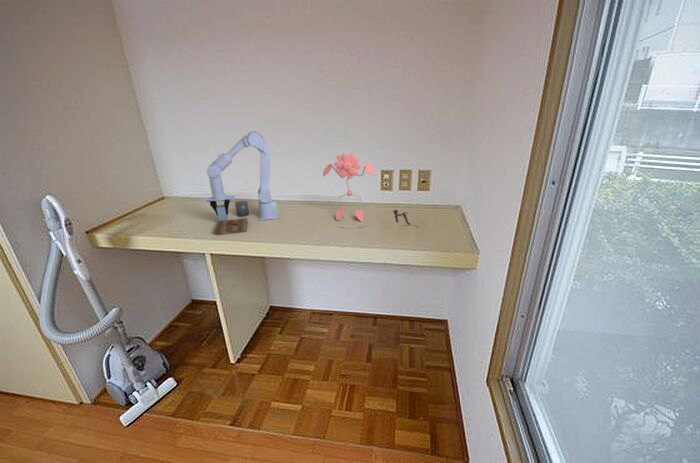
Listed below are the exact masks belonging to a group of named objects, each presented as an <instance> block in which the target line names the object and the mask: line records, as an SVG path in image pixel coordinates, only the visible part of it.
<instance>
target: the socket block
mask: <svg viewBox="0 0 700 463" xmlns="http://www.w3.org/2000/svg"><path fill="white" fill-rule="evenodd" d="M248 224H249V222H248V217H246V218H235V219H227V220H222V221H219V220H218V221H217V223H216V225H215V228H214V233H215V236H220V235H229V234H238V233H247V230H248Z"/></svg>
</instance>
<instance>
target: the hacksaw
mask: <svg viewBox="0 0 700 463" xmlns="http://www.w3.org/2000/svg"><path fill="white" fill-rule="evenodd" d="M393 213H394V217H395V218H394V219H395V222H396V223H399V218H398V217H399V216H403V218H404V220H405V223H406V224H403V225H402V227H406V226H407V227H408V226H409V227H410V226H413V227H415V225H414V224H411V222H409V221H408V217H407V214H406V211H404V212H402V213H400V214H399V211H398V210H397V209H394V210H393ZM416 228H419V226H418V225H416Z"/></svg>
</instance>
